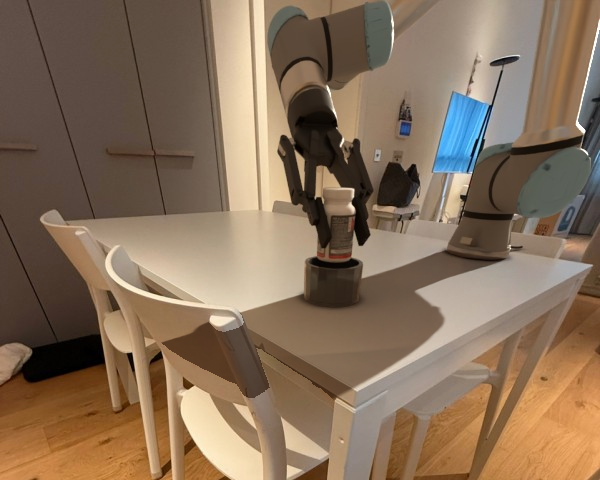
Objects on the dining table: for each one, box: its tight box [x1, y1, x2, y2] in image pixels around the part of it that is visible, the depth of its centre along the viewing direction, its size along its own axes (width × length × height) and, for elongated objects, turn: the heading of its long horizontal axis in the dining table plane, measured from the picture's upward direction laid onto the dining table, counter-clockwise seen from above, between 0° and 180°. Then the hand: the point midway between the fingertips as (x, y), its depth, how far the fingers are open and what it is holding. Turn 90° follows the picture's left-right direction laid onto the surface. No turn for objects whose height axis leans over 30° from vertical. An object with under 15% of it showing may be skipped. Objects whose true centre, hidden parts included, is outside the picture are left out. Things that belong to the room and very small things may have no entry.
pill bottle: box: [316, 186, 356, 263], centre depth 52 cm, size 6×6×10 cm
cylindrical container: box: [303, 255, 364, 308], centre depth 57 cm, size 10×10×6 cm
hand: (345, 241), depth 51 cm, fingers closed on pill bottle, 6 cm apart
